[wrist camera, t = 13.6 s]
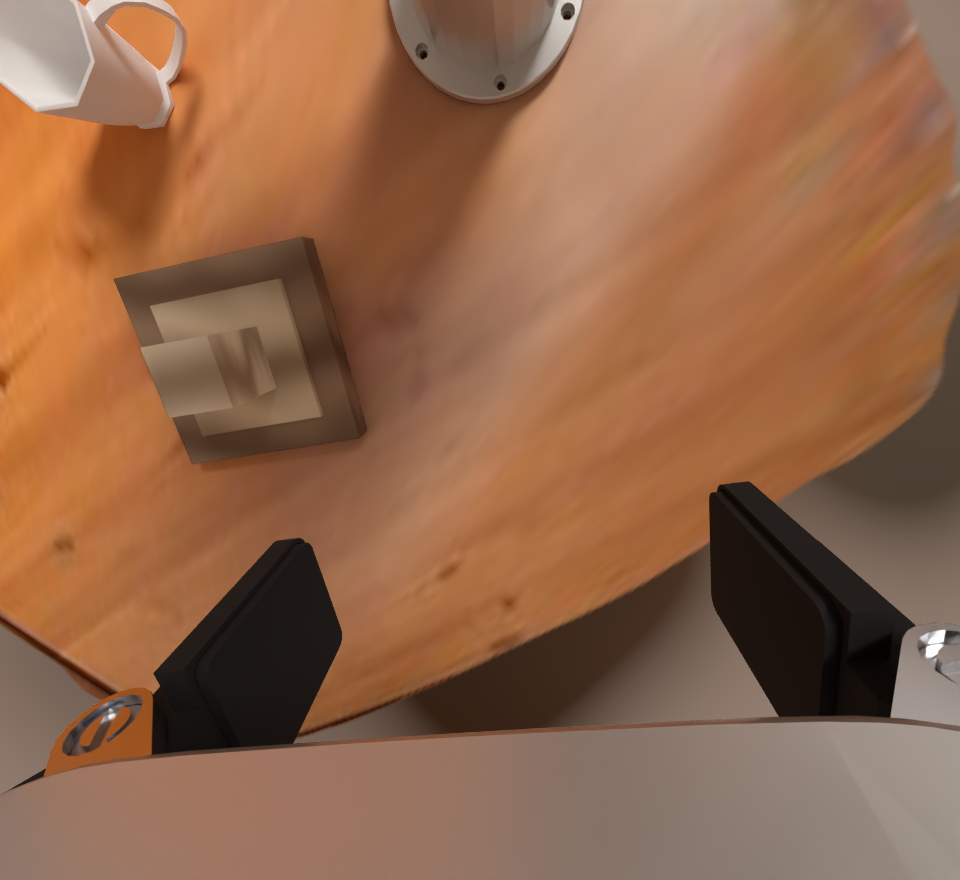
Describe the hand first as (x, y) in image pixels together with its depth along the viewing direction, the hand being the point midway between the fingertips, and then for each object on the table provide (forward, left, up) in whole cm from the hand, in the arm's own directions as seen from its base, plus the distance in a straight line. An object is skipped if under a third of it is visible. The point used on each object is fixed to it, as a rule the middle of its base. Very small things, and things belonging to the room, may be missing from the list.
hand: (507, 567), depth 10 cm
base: (-4, -22, -28) cm, 36 cm away
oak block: (-4, -22, -26) cm, 34 cm away
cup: (-24, -22, -28) cm, 43 cm away
